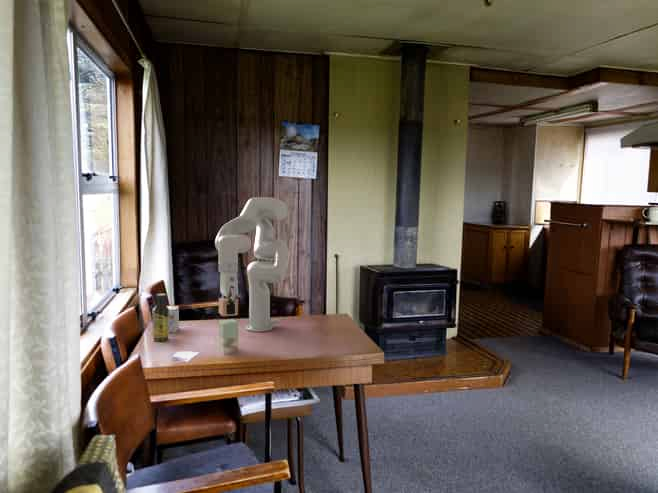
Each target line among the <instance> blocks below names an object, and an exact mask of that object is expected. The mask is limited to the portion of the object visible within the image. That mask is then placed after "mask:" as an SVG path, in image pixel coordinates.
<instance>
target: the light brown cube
mask: <svg viewBox="0 0 658 493" xmlns="http://www.w3.org/2000/svg"><path fill="white" fill-rule="evenodd" d="M230 299H231V298H229V300H230ZM218 314H220V316H221V317H228V316H229V317H230V316H231V317H233V316H238V315H239V300H238V299H237V298H235V314H229V315H227V298H222V297H218Z"/></svg>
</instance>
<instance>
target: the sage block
mask: <svg viewBox="0 0 658 493" xmlns="http://www.w3.org/2000/svg"><path fill="white" fill-rule="evenodd" d="M218 327H219V328H218V329H219V330H218V332H219V334H218V336H219V335H220V336H221V337H222V338H223V339H229V338H238V339H239V322H238V321H237V320H235V319H234V318H231V319H223V320H219V321H218Z"/></svg>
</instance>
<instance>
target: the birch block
mask: <svg viewBox="0 0 658 493" xmlns="http://www.w3.org/2000/svg"><path fill="white" fill-rule="evenodd" d="M218 336H219V337H218V338H219V340H218V341H219V342H218V343H219V344H218V345H219V347H218V349H219V351H220V352H221V353H222V354H223V355H226V354H234V353H239V337H238V338H229V339H223V338H222V337H221V336H220V335H219V334H218Z"/></svg>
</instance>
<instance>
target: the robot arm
mask: <svg viewBox="0 0 658 493" xmlns="http://www.w3.org/2000/svg"><path fill="white" fill-rule="evenodd" d="M287 215H288V206H287V204H286V203H285V201H283V200H281V199H279V198H275V197H267V196H264V197H263V196H262V197H261V196H260V197H259V196H257V197H256V196H253V197H251V198H249V199H248V200H247V201H246V204H245V205H244V207H243V209H242V211H241V212H240V215H239V216H238V217H237V216H236V217H235V218H233V219H231V220H230V221H228V222H227V223H225V224H224V225H222V226H221V228H220V230H219V231H218V233H217V235H216V237H215V240H214V246H215V248H216V249H215V250H217V254H218V272H219V273H220V276H219V290H220V294H221V298H227V315H229V314H235V299H236V298H237V297H238V296H239V281H238V279H239V278H238V272H239V254H245V253H248V252H249V250H250V248H251V245H252V241H251V238H250V237H249V236H248V235H246V234H244V233H249V232H251V231H253V230H255V229H256V231H255V238H254V244H253V256H254V257H255V258H257V259H259V260H261V261H259V260H257V261H256V260H255V261H252V262H250V263H249V264H248V265H247V267H246V274H247V280H248V291H249V292H248V297H249V298H248V299H249V300H248V301H249V302H248V303H249V304H248V306H249V307H248V322H249V323H248V324H246V325H245V329H246V331H250V332H255V333H256V332H258V333H259V332H269V331H271V330H273V328H274V324H280V318H271V307H270V306H271V291H270V289H269V285H267V283H271V284H280V283H282V282H283V281H284V280H285V276H286V270H287V269H286V268H287V262H288V261H287V260H288V255H289V254H288V252H289V250H288V245H287V243H286V241H285V240H282V239H274V238H275V233H276V232H275V228H274V226H273V224H272V223H271V222H270V221H269V220H281V221H282V220H283V219H285V218H286V217H287ZM262 260H269V261H262ZM273 260H274V261H273ZM229 298H231V299H230V300H229Z"/></svg>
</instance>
